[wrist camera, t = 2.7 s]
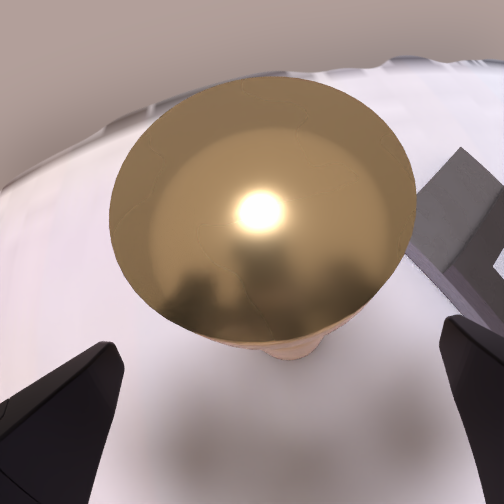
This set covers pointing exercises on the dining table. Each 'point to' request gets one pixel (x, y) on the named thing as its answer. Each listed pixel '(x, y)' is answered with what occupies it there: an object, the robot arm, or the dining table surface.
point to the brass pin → (263, 213)
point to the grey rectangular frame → (463, 238)
